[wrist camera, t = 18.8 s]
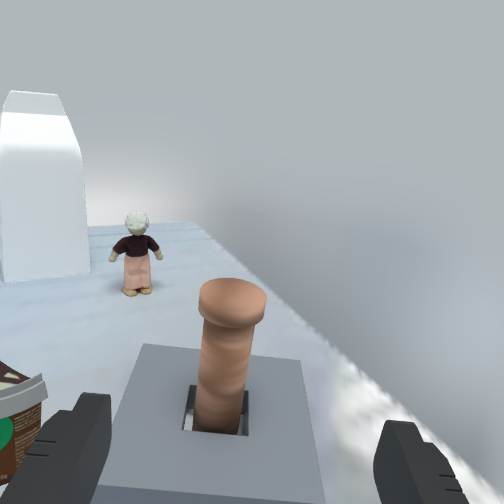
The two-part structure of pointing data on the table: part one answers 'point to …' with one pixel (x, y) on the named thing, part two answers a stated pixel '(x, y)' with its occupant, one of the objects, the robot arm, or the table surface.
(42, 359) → the table surface
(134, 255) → the grandmother figurine
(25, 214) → the milk
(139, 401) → the socket block
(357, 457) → the table surface
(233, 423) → the headed peg
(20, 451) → the food container
